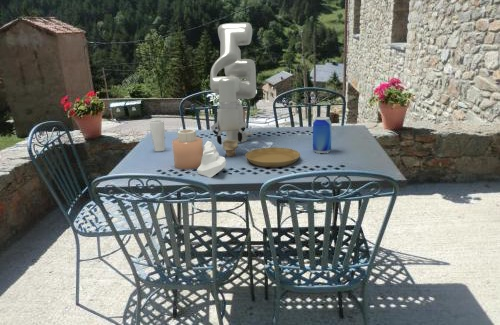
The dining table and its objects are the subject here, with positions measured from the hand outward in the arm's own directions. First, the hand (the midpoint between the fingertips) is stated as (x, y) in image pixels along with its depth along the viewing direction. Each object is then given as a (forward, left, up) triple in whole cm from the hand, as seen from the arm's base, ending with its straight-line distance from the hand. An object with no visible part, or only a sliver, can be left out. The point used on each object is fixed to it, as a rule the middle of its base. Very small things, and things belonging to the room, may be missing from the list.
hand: (229, 142), depth 197 cm
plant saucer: (-14, +16, -7) cm, 23 cm away
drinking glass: (+29, -26, -6) cm, 39 cm away
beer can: (-40, +14, -6) cm, 43 cm away
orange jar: (+21, +4, -6) cm, 22 cm away
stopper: (0, -1, -6) cm, 6 cm away
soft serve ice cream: (+15, +20, -7) cm, 26 cm away
